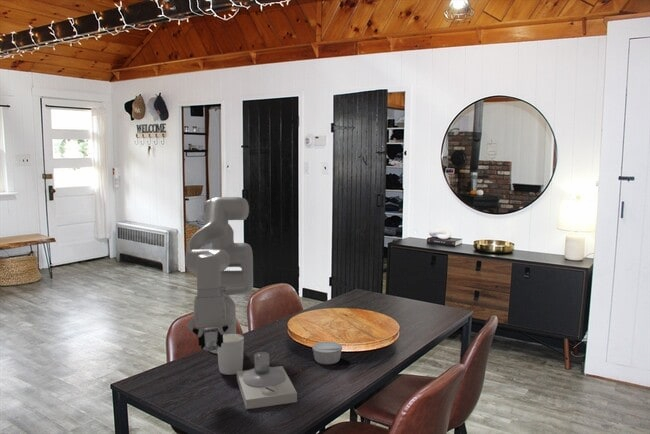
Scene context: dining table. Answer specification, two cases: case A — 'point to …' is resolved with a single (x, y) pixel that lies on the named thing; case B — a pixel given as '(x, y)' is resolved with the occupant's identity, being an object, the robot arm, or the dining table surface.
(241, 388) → the scale
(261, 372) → the disc
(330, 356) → the ramekin
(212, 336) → the cylinder
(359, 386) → the dining table surface
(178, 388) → the dining table surface
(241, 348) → the candle holder
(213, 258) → the robot arm
